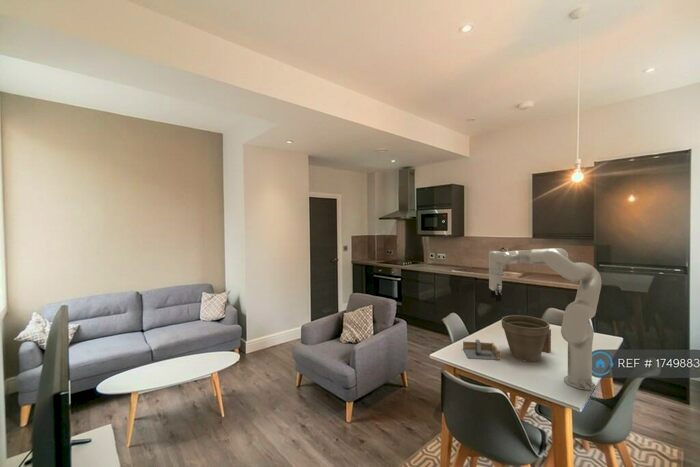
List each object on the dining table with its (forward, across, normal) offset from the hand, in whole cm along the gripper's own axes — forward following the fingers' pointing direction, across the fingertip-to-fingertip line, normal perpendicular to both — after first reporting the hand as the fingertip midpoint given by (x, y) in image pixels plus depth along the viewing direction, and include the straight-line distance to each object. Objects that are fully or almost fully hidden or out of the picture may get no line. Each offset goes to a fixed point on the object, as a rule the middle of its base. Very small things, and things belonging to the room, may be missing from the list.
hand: (495, 299), depth 184 cm
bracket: (+33, +1, -8) cm, 34 cm away
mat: (+34, 0, -9) cm, 35 cm away
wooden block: (+34, -13, +30) cm, 48 cm away
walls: (+34, 0, -9) cm, 35 cm away
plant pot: (+34, 0, +16) cm, 38 cm away
